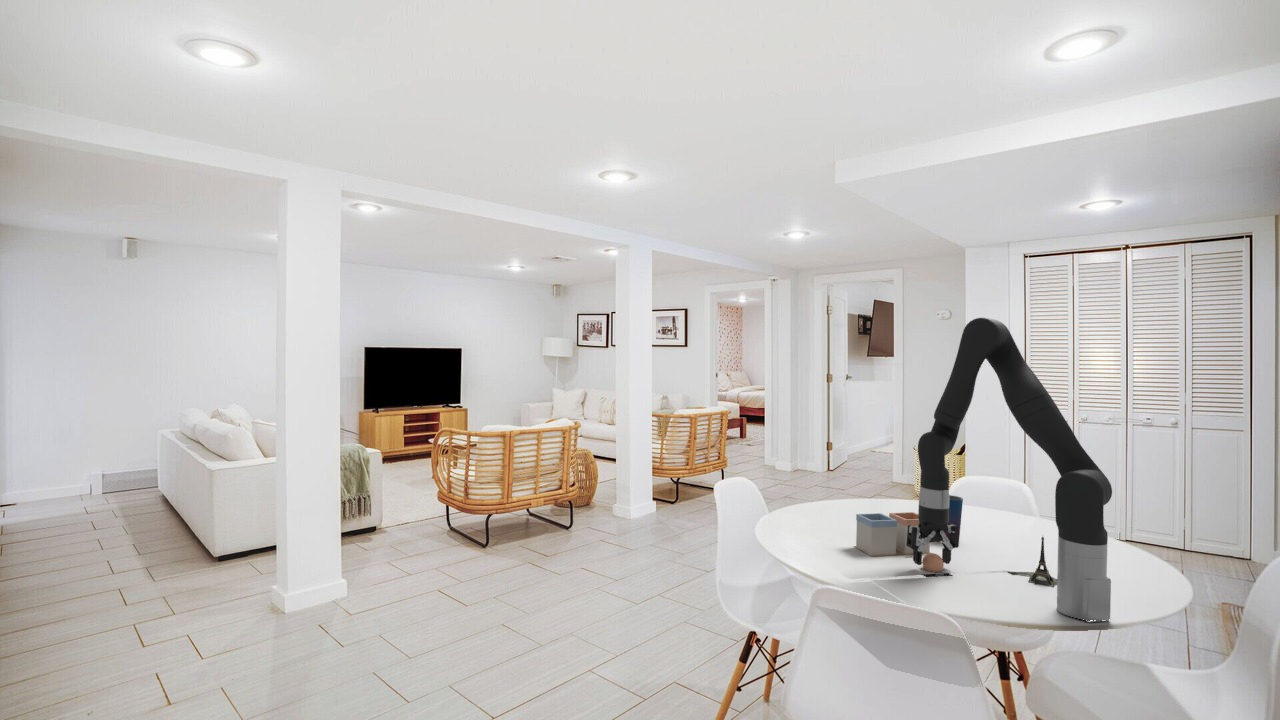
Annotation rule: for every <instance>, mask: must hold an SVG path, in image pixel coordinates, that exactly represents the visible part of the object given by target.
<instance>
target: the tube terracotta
mask: <svg viewBox="0 0 1280 720" xmlns="http://www.w3.org/2000/svg"><path fill="white" fill-rule="evenodd" d="M888 517H890V518H893V519H895V520H897V527H896V550H898V551H900V552H902V553H904V554H913V549H911V548H909V547H907V545H906V542H907V531H908V526H909V525H912V526H918V525H919V519H918V512H917V513H916V512H913V511H912V512H909V511H908V512H889V514H888ZM918 535H919V532H918V534H917V536H918ZM922 540H924V539H923V538H922ZM930 546H931V545H930V542H929V543H928V544H927V545H926V546H924V548H923V549H922V550H921V552H922V553H931V552H930Z"/></svg>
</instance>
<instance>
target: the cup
mask: <svg viewBox="0 0 1280 720" xmlns="http://www.w3.org/2000/svg"><path fill="white" fill-rule="evenodd" d="M963 501H964V498H963V497H961V496H957V495H950V494H949V522H948V524H947V525H949V524H953V525H955V526H957V527H958V534H959V538H960V537H961V535H960V534H961V524H962V516H963V515H962V513H963ZM946 536H947V538H948V539H949V532H947V533H946Z"/></svg>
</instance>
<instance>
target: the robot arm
mask: <svg viewBox="0 0 1280 720" xmlns="http://www.w3.org/2000/svg"><path fill="white" fill-rule="evenodd" d="M1018 347H1019V346H1018V345H1017V344H1016V342H1015V339H1014V338H1013V335H1012V334H1011V331H1010V329H1009V328H1008V327H1007V325H1005V323H1003V322H1002V321H999V320H998V319H993V318H989V317H977V318H973V319H972V320H970V321H969V322H968V323H967V324H966V326H965V327H964V328H963V331H962V335H961V338H960V343H959V346H958V348H957V349H958V351H957V353H956V357H955V361H954V362H953V363H954V364H953V367H952V370H951V372H950V375H949V378H948V382H947V383H946V386H945V388H944V390H943V393H942V394H941V397H940V398H939V401H938V403H937V406H936V408H935V410H934V414H933V418H934V422H933V425H932V428H931V430H930V431H927V432H925V433H923V434H922V435H921V436H920V438H919V440H918V442H917V456H918V457H917V458H918V461H919V467H920V485H919V493H918V510H917V511H918V512H917V514H918V519H919V525H918V526H912V525H909V526H908V531H907V542H906V545H907V547H909V548H911V549H913V555H912V560H913V563H914V564H915V565H918V566H921V565H923V563H922V561H923V555H922V552H921V550H922V549H923V548H924V546H926V545H927V544H928V543H929V542H930V543H940V544H941V545H942V547H943V548H942V549H941V550H942V552H941V553H942V554H941V558H942V560H943V563H944V564H946V565H947V564H948V565H950V563H951V560H952V550H953V549H955V548H957V549H958V548H959V546H960V544H959V543H960V537H959V534H958V527H957V526H955V525H953V524H949V525H947V524H948V522H949V495H950V473H949V469H948V468H947V467H946V461H945V459H946V458H945V457H946V455H948V454H950V453H951V452H952V450H953V449H954V446H955V445H956V442H957V440H958V436H959V435H958V434H959V432H960V427H961V424H962V423H963V421H964V419H965V417H966V414H967V412H968V410H969V408H970V406H971V403H972V400H973V397H974V396H973V395H974V392H975V387H976V382H977V377H978V374H979V372H980V369H981V368H982V364H983V363H984V362H985V360H986V361H987V362H988V363H989V365H990V367H991V368H992V369H993V371H994V372H995V373H996V376H997V378H998V380H999V384H1000V388H1001V392H1002V395H1003V398H1004V401H1005V403H1006V405H1007V407H1008V409H1009V411H1010V412H1011V414H1012V416H1013V418H1014V419H1015V421H1016V422H1017V424H1018V425H1019V427H1020V428H1021V429H1022V431H1023V432H1025V434H1026V435H1027V436H1028V437H1029V438H1030V439H1031V440H1032V441H1033V442H1034V443H1036V445H1037V446H1038V447H1040V448H1041V449H1042V450H1043V451H1044V452H1045V454H1046V455H1047V456H1048V457H1049V458H1050V460H1051V461H1052V463H1053V464H1054V466H1055V468H1056V469H1057V471H1058V473H1059V475H1060V478H1058V479H1057V482H1056V486H1055V493H1054V494H1055V495H1054V496H1055V497H1054V499H1055V501H1054V503H1055V504H1054V505H1055V506H1054V507H1055V509H1054V511H1055V512H1054V513H1055V524H1056V527H1057V530H1058V531H1057V532H1058V535H1057V536H1058V537H1057V538H1058V539H1057V540H1058V541H1057V578H1056V579H1057V585H1056V610H1057V611H1058V613H1060V614H1062V615H1064V614H1065V615H1064V616H1066V615H1067V617H1069V616H1071V617H1070V618H1072V617H1074V618H1073V619H1075V618H1079V619H1084V620H1087V621H1090V620H1093V621H1094V620H1096V621H1102V620H1109V619H1110V620H1111V603H1112V602H1111V596H1112V595H1111V594H1112V593H1111V591H1112V580H1111V578H1109V577H1108V576H1107V574H1108V570H1107V569H1108V538H1109V537H1108V536H1109V535H1108V531H1107V529H1106V528H1105V524H1104V523H1105V522H1104V521H1105V520H1104V507H1105V505H1107V504H1108V503H1109V502H1110V500H1111V498H1112V495H1113V488H1112V485H1111V482H1110V481H1109V479H1108V477H1107V475H1105V474H1104V472H1103V471H1102V470H1101V469H1100V468H1099V466H1098V465H1097V463H1095V462H1094V460H1093V459H1092V457H1091V456H1090V455H1089V454H1088V453H1087V451H1086V450H1085V449H1084V448H1083V446H1082V445H1081V442H1079V440H1078V438H1077V437H1076V435H1075V433H1074V431H1073V430H1072V428H1071V427H1070V424H1069V423H1068V422H1067V420H1066V418H1065V417H1064V415H1063V414H1062V412H1061V410H1060V409H1059V407H1058V406H1057V403H1055V401H1054V399H1053V398H1052V396H1051V395H1050V393H1049V392H1048V390H1047V389H1046V388H1045V387H1044V385H1043V383H1042V382H1041V381H1040V379H1039V378H1038V376H1037V375H1036V374H1035V373H1034V371H1033V370H1032V369H1031V367H1030V365H1028V363H1027V362H1026V360H1025V359H1024V357H1023V355H1022V353H1021V351H1020V350H1019V348H1018ZM918 532H919V535H918V536H917V534H918ZM947 532H949V539H948V538H947V536H946V533H947ZM922 538H923V539H924V540H922ZM1079 619H1078V620H1079ZM1102 622H1103V621H1102Z"/></svg>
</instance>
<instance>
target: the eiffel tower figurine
mask: <svg viewBox="0 0 1280 720" xmlns="http://www.w3.org/2000/svg"><path fill="white" fill-rule="evenodd" d="M1040 540H1041V545H1040V546H1041V547H1040V556H1039V561H1038V565H1037V567H1036V568H1035V570H1034V571H1035V572H1033V571H1007V572H1008V573H1009V574H1010V575H1012V576H1019V577H1020V576H1021V577H1028V578H1029V579H1028V580H1027V583H1029V584H1033V585H1039V586H1044V587H1049V588H1055V586H1057V578H1055V577H1053V576H1051V574H1050V572H1049V569H1048V567H1047V564H1046V563H1047V561H1046V560H1045V559H1046V558H1045V557H1046V556H1045V537H1044V536H1042V537H1041V539H1040ZM1041 567H1043V569H1042V568H1041Z"/></svg>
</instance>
